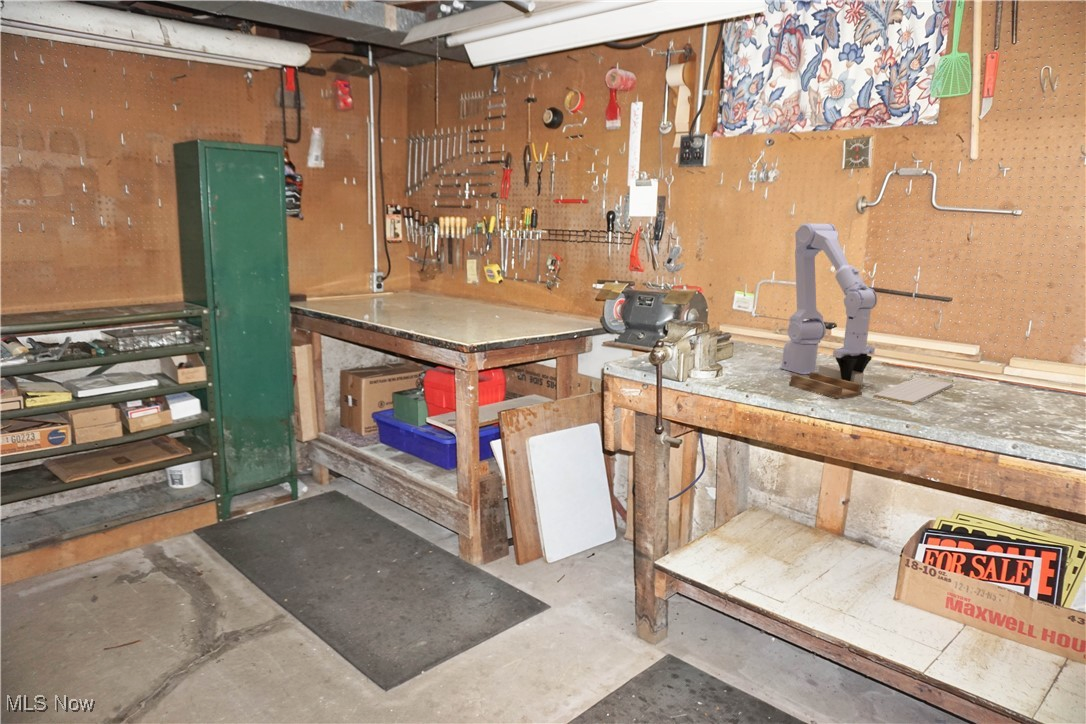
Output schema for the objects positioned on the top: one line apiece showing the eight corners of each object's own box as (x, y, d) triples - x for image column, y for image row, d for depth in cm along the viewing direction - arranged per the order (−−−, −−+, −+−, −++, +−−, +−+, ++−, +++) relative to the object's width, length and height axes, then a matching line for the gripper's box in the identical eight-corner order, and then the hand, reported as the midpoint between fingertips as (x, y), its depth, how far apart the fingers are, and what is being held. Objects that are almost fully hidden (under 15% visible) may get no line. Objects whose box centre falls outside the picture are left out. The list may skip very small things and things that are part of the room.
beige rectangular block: (817, 379, 199) (819, 365, 198) (826, 377, 201) (827, 364, 200) (853, 388, 189) (855, 374, 188) (862, 387, 191) (863, 373, 190)
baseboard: (863, 397, 182) (912, 407, 173) (865, 387, 181) (913, 396, 173) (907, 380, 203) (952, 388, 194) (908, 370, 202) (954, 378, 194)
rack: (788, 385, 191) (790, 374, 190) (812, 381, 195) (813, 371, 195) (837, 399, 177) (838, 388, 177) (861, 395, 182) (862, 384, 181)
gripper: (851, 336, 182) (845, 386, 185) (886, 333, 189) (880, 381, 191) (829, 332, 188) (823, 380, 191) (864, 329, 195) (858, 376, 198)
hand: (850, 380), depth 192 cm, fingers closed on beige rectangular block, 4 cm apart
